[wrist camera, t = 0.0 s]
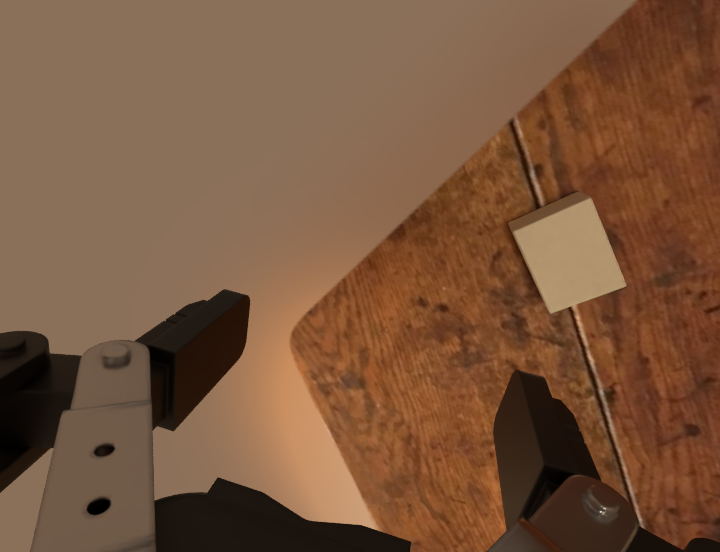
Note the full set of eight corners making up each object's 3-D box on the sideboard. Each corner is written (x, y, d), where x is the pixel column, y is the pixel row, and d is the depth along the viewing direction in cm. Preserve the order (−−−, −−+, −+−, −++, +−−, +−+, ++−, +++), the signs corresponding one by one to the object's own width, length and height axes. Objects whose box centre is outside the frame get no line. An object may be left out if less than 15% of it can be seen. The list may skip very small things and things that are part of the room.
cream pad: (507, 222, 28) (512, 232, 25) (578, 190, 26) (591, 197, 24) (542, 298, 29) (550, 314, 26) (611, 272, 27) (627, 286, 25)
